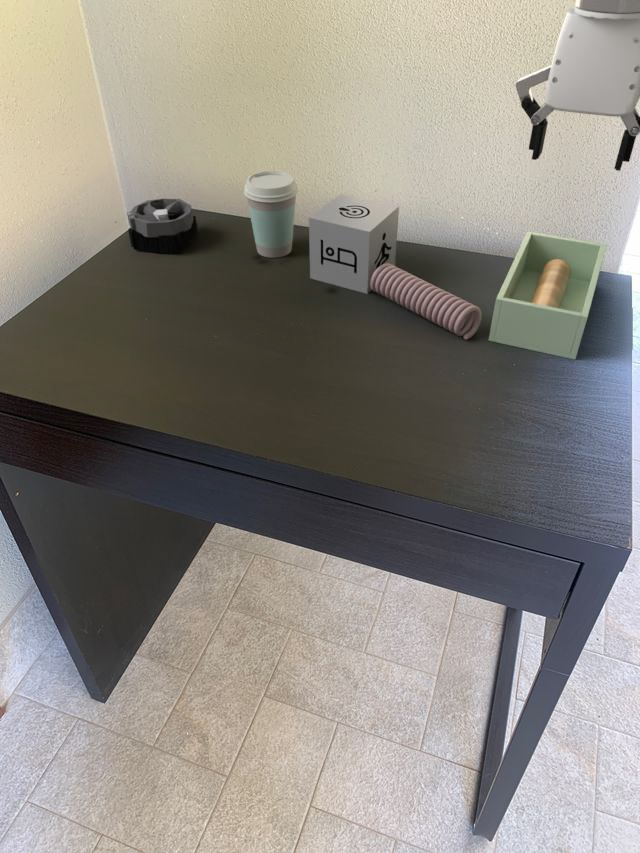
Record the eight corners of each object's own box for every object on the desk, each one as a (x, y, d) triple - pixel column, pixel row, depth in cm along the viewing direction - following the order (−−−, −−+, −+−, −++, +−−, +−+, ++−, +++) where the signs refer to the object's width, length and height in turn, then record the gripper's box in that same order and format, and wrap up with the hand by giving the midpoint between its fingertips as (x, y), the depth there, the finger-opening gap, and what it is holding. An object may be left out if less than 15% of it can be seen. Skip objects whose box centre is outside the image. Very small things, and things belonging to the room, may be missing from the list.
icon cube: (310, 278, 107) (308, 217, 101) (340, 252, 114) (340, 193, 107) (367, 293, 103) (369, 231, 97) (395, 265, 110) (399, 206, 103)
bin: (595, 284, 105) (606, 244, 101) (575, 359, 90) (587, 317, 86) (519, 270, 109) (527, 231, 104) (488, 340, 94) (496, 298, 89)
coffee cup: (307, 243, 116) (306, 173, 108) (286, 265, 110) (283, 193, 102) (262, 235, 119) (257, 165, 111) (239, 256, 113) (233, 185, 105)
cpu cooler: (200, 199, 116) (177, 224, 109) (204, 231, 120) (182, 257, 113) (143, 194, 118) (118, 219, 111) (149, 225, 122) (125, 251, 115)
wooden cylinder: (549, 287, 105) (539, 264, 103) (575, 278, 102) (565, 255, 101) (529, 341, 94) (518, 317, 92) (558, 332, 91) (546, 308, 90)
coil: (367, 269, 100) (463, 318, 90) (389, 256, 102) (486, 302, 92) (368, 296, 103) (461, 346, 93) (390, 282, 105) (483, 330, 95)
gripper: (704, -4, 72) (654, 160, 83) (537, -13, 77) (512, 143, 89) (702, 8, 67) (650, 182, 78) (524, -2, 72) (499, 162, 83)
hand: (576, 161), depth 83 cm, fingers open, 9 cm apart
